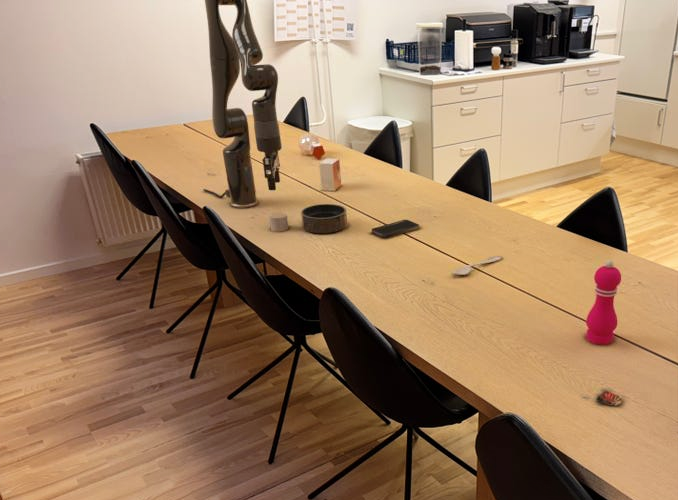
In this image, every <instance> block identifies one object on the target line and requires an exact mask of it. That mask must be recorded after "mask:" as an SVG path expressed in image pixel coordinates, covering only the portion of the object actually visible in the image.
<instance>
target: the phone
mask: <svg viewBox="0 0 678 500" xmlns="http://www.w3.org/2000/svg"><path fill="white" fill-rule="evenodd" d="M418 229H420V224H419V223H416V222H414V221H412V220H409V219H402V220H398V221H395V222H391V223H389V224H388V223H387V224H384V225H380V226H377V227H372V228H371V234H373V235H375V236H377V237H379V238H382V239H389V238H392V237H395V236H399V235H402V234H406V233H409V232H412V231H416V230H418Z"/></svg>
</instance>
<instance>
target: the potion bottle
mask: <svg viewBox="0 0 678 500" xmlns="http://www.w3.org/2000/svg"><path fill="white" fill-rule="evenodd" d="M298 148H299V150H300V152H301V153H302V154H304V155H306V156H312V157H314V158H315V159H317V160H320V159H321V158H322V157H323V156H324V155H325V154H326V152H325V149H324V146H323V144H322V143H321V142H320V140H319V139H318V137H317V136H316V135H314V134H313V133H307V132H306V133H305V134H302V135H301V136H300V137H299V139H298Z"/></svg>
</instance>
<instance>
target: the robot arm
mask: <svg viewBox="0 0 678 500" xmlns="http://www.w3.org/2000/svg"><path fill="white" fill-rule="evenodd" d="M204 5H205V13H206V20H207V30H208V46H209V47H208V49H209V65H210V75H211V89H212V91H211V92H212V97H211V98H212V99H211V101H212V103H211V104H212V107H211V120H212V128H213V131H214V133H215V135H216V136H217V138H219V139H222V140H223V139H231V138H233V140H232V142H231V143H229V144H228V145H226V146H224V148H223V149H222V157H223V162H224V169H225V174H226V175H225V176H226V183H227V189H225V190H224V191H225V192H223V193H222V194H221V195H220V194H218V193H217V192H215V191H212V190H210V189H206V188H203V190H202V191H204V192H206V193H209V194H212V195H214V196H215V197H217V198H220V199H221V198H224V197H226V198H228V199H229V200H230V206H231V207H233V208H237V209H238V208H239V209H245V208H251V207H254V206H256V205H258V198H257V189H256V185H255V184H256V183H255V178H254V177H255V176H254V170H253V164H252V157H251V156H252V155H251V141H250V140H251V139H250V128H249V121H248V117H247V115H246V112H245V111H244V110H243V109H242V108H240V107H233V108H228V101H229V97H230V94H231V92H232V90H233V89H234V86H235V85H236V83H237V81H238V79H239V76H240V72H241V82H242V85H243V87H244V88H245V89H246V90H248V91H249V92H258V91H264V94H263V95H262V96H260V97H258V98H255V99H253V100H252V102H251V110H252V117H253V129H254V136H255V142H256V143H255V145H256V149H257V151H258V152H260V153H264V156H263V158H262V165H263V171H264V172H263V173H264V179H266V180H267V187H268V191H276V189H277V186H276V184H277V183H278V184H279V183H280V182H281V177H280V166H281V164H280V157H279V156H280V155H279V151H281V150H282V149H283V147H282V146H283V145H282V140H281V132H280V124H279V122H278V121H279V120H278V115H277V105H276V103H277V91H278V85H279V75H278V72H277V69H276V68H275V67H274V65H272V64H269V63H266V64H265V63H264V64H260V63H261V61H262V60H263V57H264V53H263V50H262V48H261V45H260V43H259V40H258V37H257V35H256V33H255V29H254V26H253V22H252V17H251V13H250V9H249V4H248V1H247V0H204ZM220 6H234V7H235V9H236V17H235V21H234V24H233V27H232V31H231V32H232V33H231V34H230V32H229V30H228V29H227V28H226V26H225V24H224V22H223V20H222V17H221V13H220Z"/></svg>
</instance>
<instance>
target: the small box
mask: <svg viewBox="0 0 678 500" xmlns="http://www.w3.org/2000/svg"><path fill="white" fill-rule="evenodd" d="M340 163H341V162H340V159H339V158H330V157H329V158H325V159H323V160H322V161H320V162H319V163H318V168H319V179H320V188H321V191H329V192H336V190H338V188H340V187H342V175H341V164H340Z"/></svg>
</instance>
